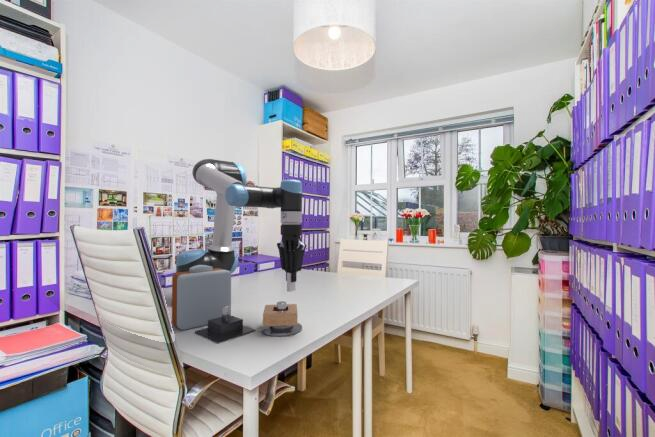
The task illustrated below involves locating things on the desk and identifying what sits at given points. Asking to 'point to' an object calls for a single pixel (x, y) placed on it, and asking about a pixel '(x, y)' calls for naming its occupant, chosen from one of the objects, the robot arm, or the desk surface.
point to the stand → (224, 327)
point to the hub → (281, 330)
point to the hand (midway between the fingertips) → (291, 290)
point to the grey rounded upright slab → (199, 296)
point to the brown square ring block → (280, 315)
